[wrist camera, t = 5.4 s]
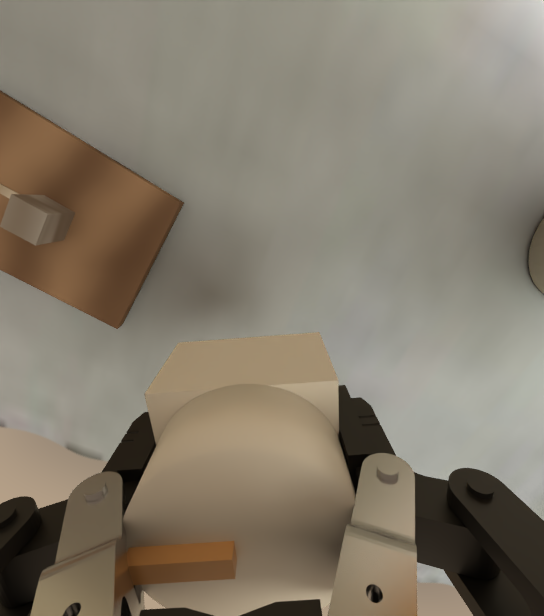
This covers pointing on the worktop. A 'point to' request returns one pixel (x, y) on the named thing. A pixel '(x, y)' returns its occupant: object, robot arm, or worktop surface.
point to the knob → (241, 477)
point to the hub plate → (76, 216)
